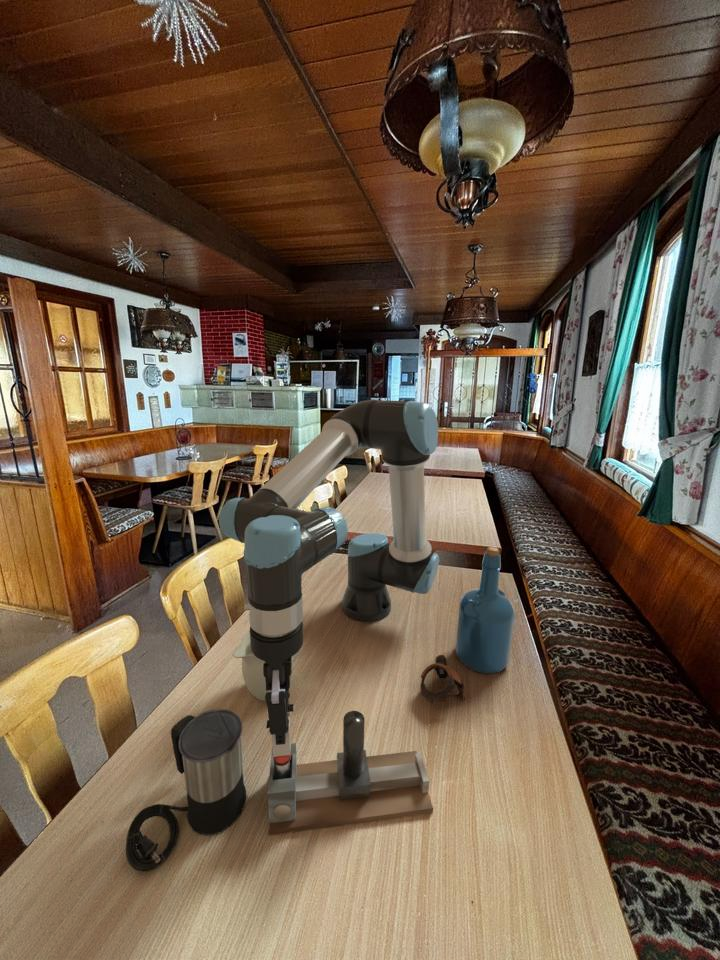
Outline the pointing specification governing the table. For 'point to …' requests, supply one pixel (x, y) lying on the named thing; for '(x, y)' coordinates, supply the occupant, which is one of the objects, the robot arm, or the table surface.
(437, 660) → the broken pottery
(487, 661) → the wine bottle
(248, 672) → the pitcher
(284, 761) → the red ball knob
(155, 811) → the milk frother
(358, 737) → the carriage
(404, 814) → the rail base
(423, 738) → the table surface
